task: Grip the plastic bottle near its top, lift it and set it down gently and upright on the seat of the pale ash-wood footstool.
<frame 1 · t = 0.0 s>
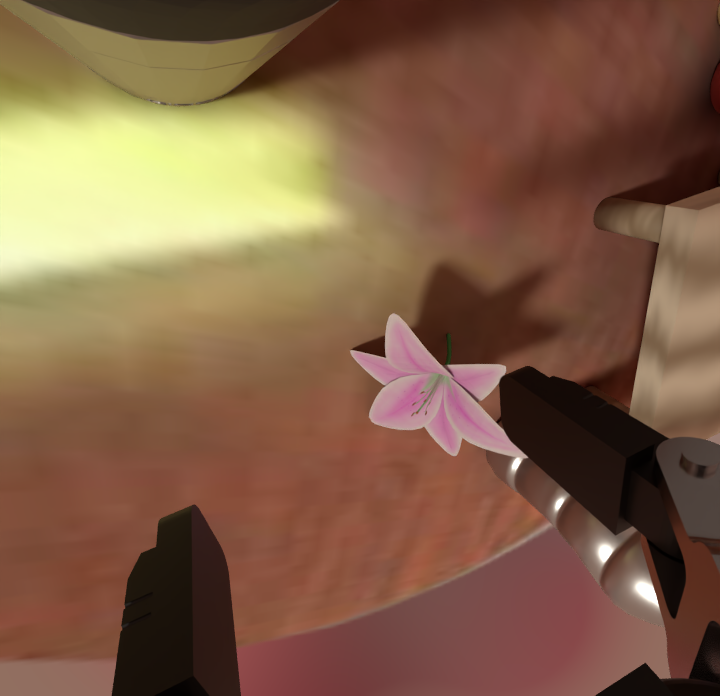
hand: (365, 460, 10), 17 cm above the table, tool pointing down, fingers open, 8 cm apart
lily: (399, 359, 32), on the table
plastic bottle: (504, 432, 40), on the table
footstool: (652, 293, 38), on the table
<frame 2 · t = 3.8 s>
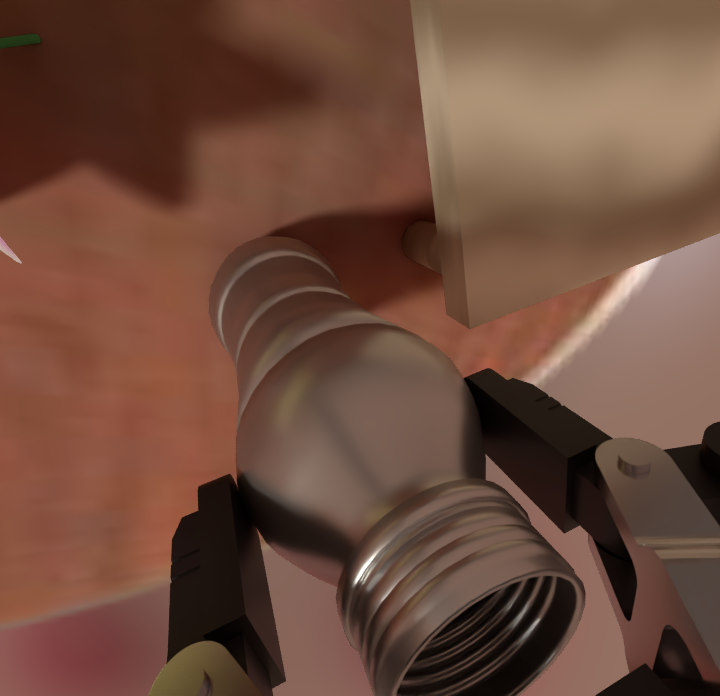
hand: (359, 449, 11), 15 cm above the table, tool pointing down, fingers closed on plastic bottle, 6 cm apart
plastic bottle: (267, 289, 24), on the table, touching gripper
footstool: (505, 41, 22), on the table
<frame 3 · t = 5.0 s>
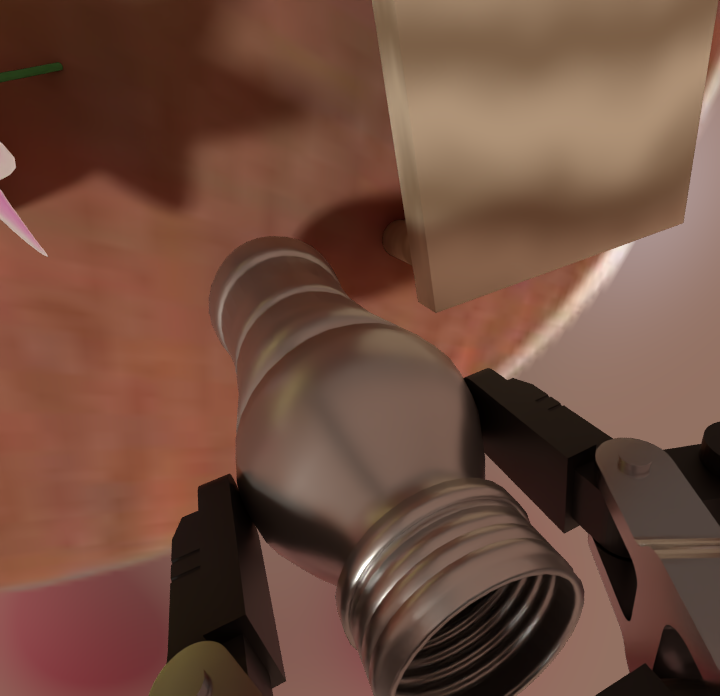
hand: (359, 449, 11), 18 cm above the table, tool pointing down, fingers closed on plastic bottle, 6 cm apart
plastic bottle: (267, 289, 24), point 3 cm above the table, touching gripper
footstool: (472, 60, 25), on the table
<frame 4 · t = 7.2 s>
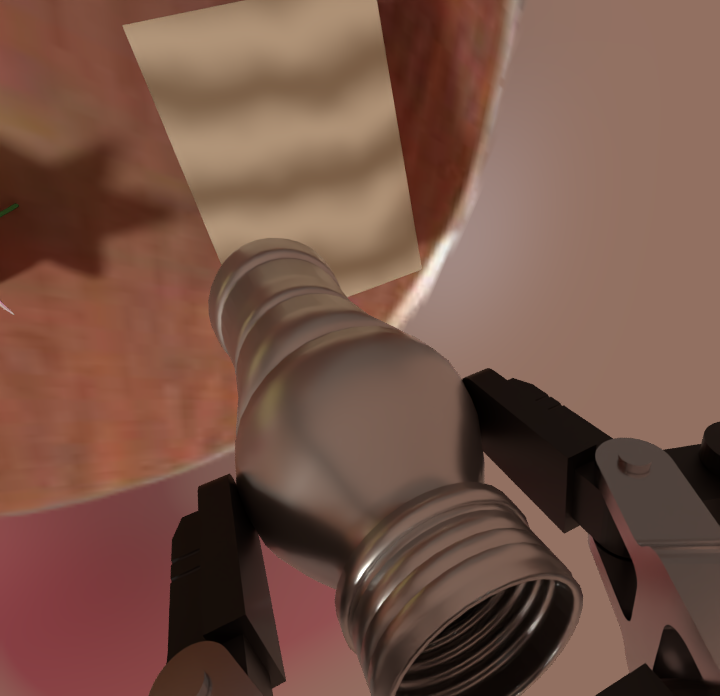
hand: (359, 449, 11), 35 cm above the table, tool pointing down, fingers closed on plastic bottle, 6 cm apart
plastic bottle: (267, 290, 24), point 20 cm above the table, touching gripper
footstool: (284, 169, 40), on the table
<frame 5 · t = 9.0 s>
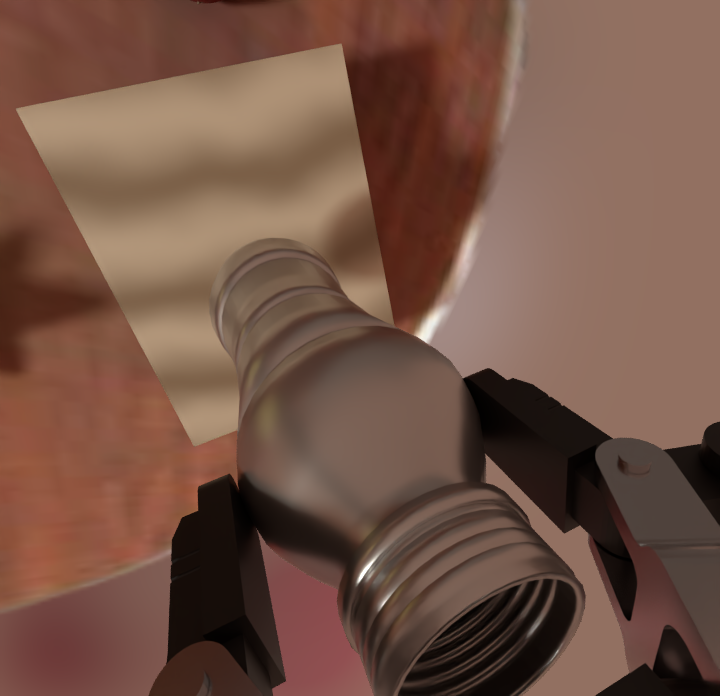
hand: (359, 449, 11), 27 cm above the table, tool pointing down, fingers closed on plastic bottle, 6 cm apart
plastic bottle: (267, 290, 24), point 13 cm above the table, touching gripper
footstool: (244, 246, 34), on the table
when the fingers open (24 cm above the table, at t = 10.7 s): plastic bottle drops 1 cm, resting on footstool.
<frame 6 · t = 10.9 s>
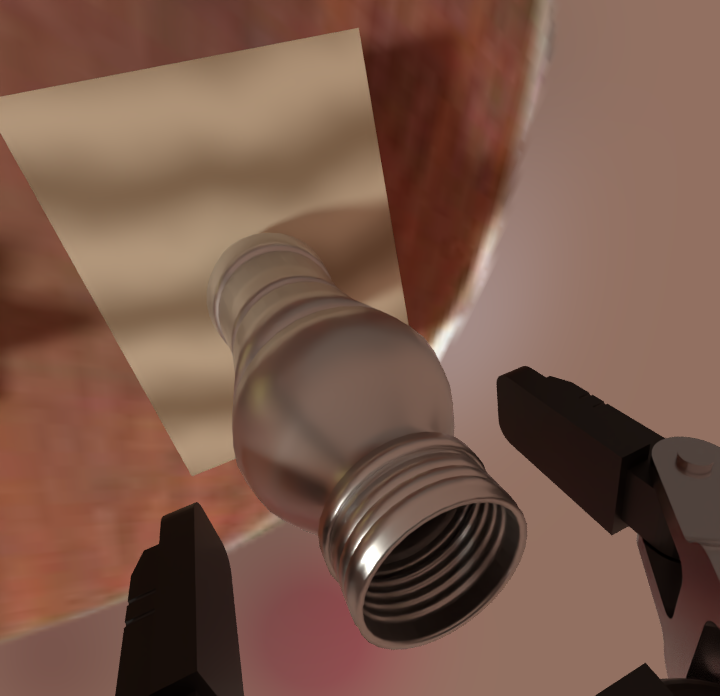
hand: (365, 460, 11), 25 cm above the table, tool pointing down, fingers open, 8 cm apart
plastic bottle: (262, 283, 25), point 8 cm above the table, touching footstool
footstool: (247, 254, 31), on the table
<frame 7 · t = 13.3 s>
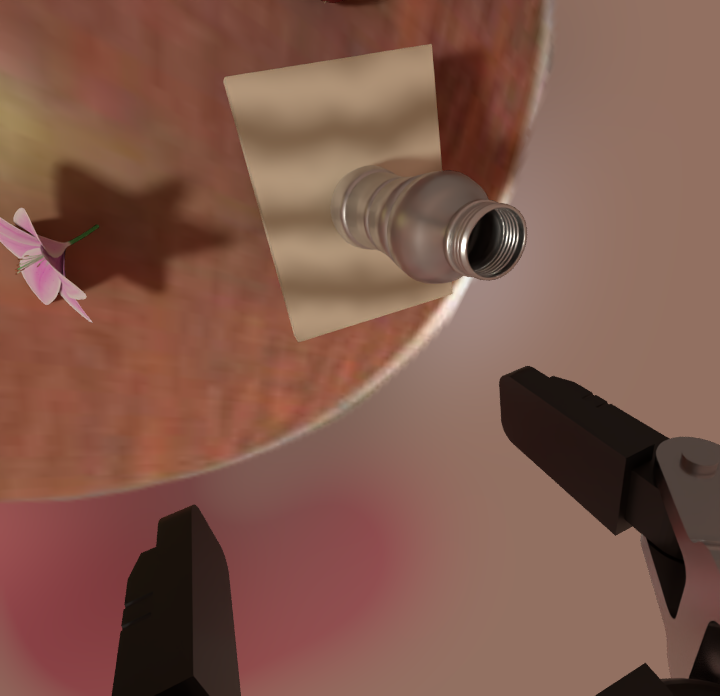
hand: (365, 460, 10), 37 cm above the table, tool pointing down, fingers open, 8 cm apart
lily: (55, 246, 38), on the table
plastic bottle: (358, 205, 38), point 8 cm above the table, touching footstool
footstool: (334, 198, 45), on the table
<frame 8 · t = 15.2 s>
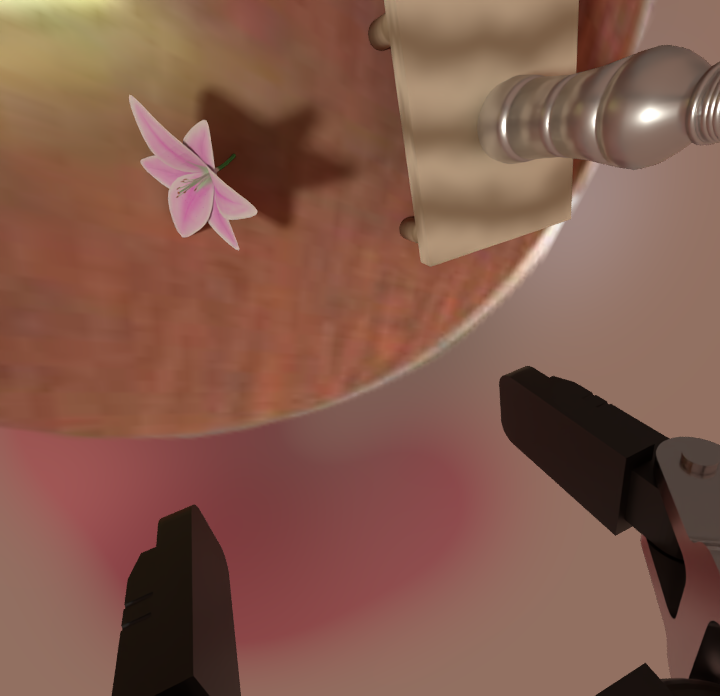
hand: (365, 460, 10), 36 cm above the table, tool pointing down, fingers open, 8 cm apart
lily: (194, 177, 39), on the table
plastic bottle: (496, 123, 38), point 8 cm above the table, touching footstool
footstool: (451, 126, 45), on the table
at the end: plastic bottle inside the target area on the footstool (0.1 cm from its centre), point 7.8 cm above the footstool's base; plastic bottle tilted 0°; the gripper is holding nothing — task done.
